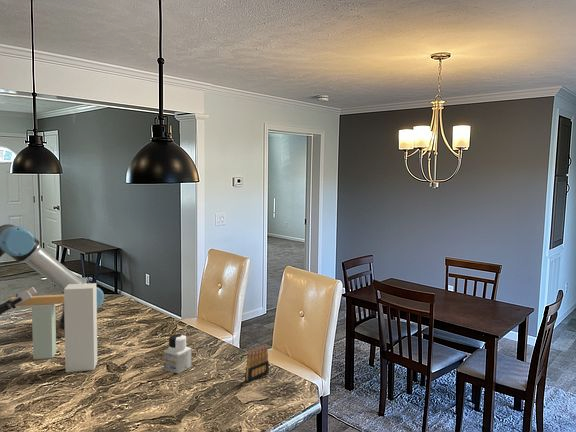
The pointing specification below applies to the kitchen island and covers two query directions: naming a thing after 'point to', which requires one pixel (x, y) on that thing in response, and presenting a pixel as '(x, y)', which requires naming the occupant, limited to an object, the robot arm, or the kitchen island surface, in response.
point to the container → (177, 354)
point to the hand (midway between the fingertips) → (32, 291)
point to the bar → (42, 300)
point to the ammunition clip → (257, 363)
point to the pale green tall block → (43, 331)
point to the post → (80, 327)
